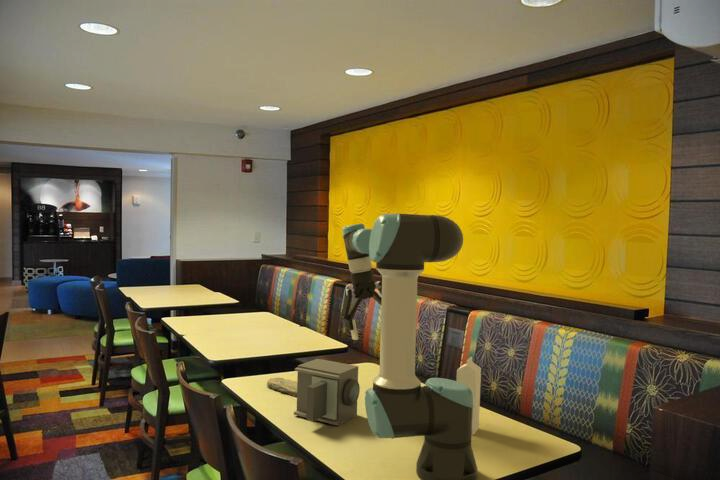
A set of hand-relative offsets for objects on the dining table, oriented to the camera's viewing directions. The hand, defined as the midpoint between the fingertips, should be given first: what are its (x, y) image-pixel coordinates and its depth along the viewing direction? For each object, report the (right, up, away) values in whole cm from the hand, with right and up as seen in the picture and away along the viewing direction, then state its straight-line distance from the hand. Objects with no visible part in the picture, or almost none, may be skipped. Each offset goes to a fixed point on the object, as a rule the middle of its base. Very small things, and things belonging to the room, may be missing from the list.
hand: (372, 334), depth 182 cm
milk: (+28, -27, -14) cm, 42 cm away
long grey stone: (-24, -25, +16) cm, 38 cm away
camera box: (-14, -25, -6) cm, 30 cm away
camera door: (-17, -24, -14) cm, 33 cm away
